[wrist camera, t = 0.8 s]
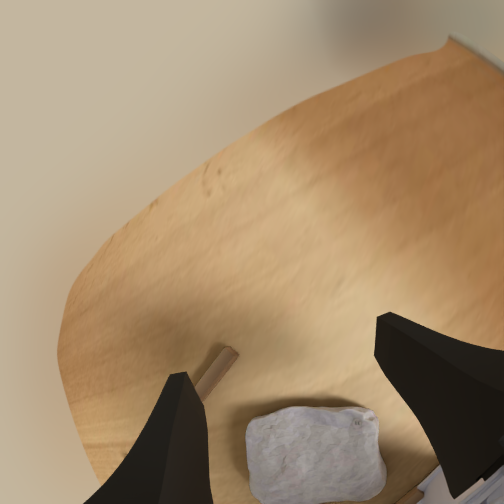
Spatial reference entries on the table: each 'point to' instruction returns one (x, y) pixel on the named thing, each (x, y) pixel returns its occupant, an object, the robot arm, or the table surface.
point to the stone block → (315, 455)
